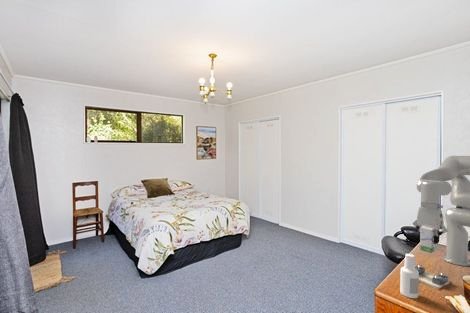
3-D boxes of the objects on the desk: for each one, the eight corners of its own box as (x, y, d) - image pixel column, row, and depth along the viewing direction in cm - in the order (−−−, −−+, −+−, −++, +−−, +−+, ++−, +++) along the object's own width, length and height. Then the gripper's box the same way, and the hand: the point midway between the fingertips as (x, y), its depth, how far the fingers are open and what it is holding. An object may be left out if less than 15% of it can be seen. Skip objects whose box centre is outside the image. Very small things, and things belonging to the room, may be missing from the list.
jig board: (420, 270, 137) (420, 268, 137) (451, 282, 125) (451, 280, 125) (406, 276, 130) (406, 274, 130) (437, 289, 118) (437, 287, 118)
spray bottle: (419, 300, 109) (419, 259, 109) (400, 295, 113) (401, 255, 112) (417, 293, 115) (418, 254, 115) (399, 288, 118) (400, 250, 118)
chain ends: (418, 270, 135) (418, 264, 135) (448, 281, 124) (448, 274, 124) (409, 274, 131) (409, 267, 131) (439, 285, 120) (439, 278, 119)
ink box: (431, 253, 123) (432, 229, 122) (419, 250, 127) (420, 226, 126) (437, 249, 127) (438, 226, 127) (426, 246, 131) (426, 224, 131)
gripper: (454, 208, 121) (453, 246, 121) (415, 202, 136) (414, 235, 136) (447, 210, 117) (446, 248, 118) (407, 203, 132) (406, 237, 133)
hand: (429, 241), depth 127 cm, fingers closed on ink box, 5 cm apart
